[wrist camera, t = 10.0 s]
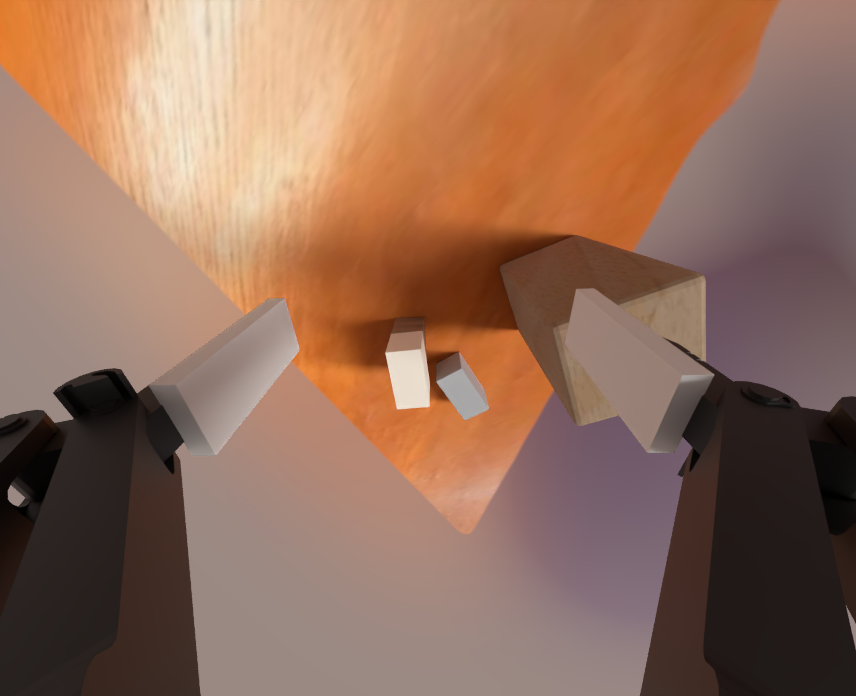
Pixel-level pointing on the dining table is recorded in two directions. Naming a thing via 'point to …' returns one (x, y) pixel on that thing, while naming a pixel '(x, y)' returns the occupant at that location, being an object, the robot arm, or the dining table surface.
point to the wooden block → (618, 281)
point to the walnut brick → (409, 326)
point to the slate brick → (461, 386)
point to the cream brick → (408, 369)
